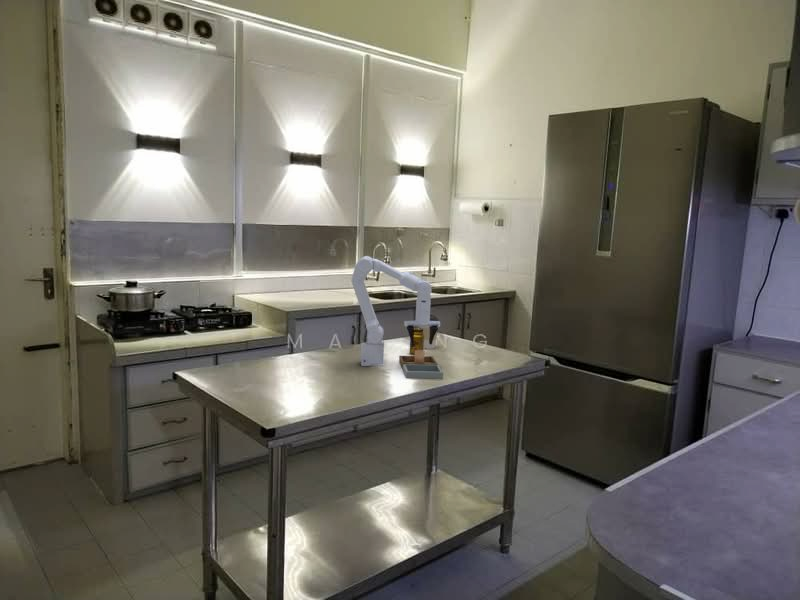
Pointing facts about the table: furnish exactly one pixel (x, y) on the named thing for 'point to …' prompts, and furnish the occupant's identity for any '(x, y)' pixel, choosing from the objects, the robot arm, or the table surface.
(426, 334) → the coffee cup
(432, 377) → the bin
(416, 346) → the condiment
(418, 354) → the orange tan cylinder
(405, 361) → the bin
